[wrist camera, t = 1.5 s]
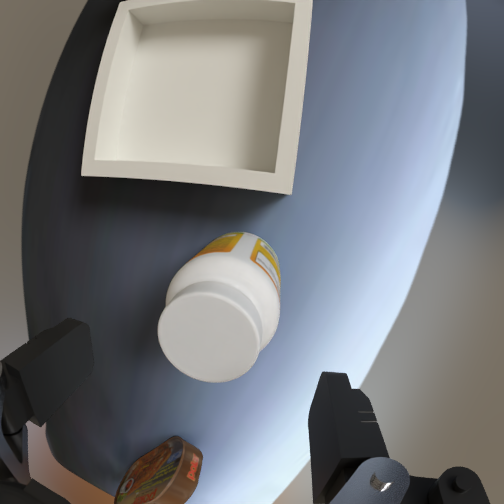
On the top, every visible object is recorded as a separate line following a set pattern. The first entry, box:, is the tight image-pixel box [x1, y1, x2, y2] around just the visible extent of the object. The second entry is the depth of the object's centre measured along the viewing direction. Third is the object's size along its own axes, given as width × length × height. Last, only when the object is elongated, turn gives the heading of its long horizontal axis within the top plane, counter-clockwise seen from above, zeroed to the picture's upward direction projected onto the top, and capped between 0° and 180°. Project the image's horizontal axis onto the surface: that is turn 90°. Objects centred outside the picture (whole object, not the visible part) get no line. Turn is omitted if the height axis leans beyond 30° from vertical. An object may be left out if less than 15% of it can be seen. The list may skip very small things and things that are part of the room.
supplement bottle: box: [158, 232, 280, 382], centre depth 15 cm, size 5×5×10 cm
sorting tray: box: [81, 0, 313, 195], centre depth 16 cm, size 13×13×4 cm
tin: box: [114, 436, 203, 504], centre depth 22 cm, size 15×3×8 cm, turn 138°
